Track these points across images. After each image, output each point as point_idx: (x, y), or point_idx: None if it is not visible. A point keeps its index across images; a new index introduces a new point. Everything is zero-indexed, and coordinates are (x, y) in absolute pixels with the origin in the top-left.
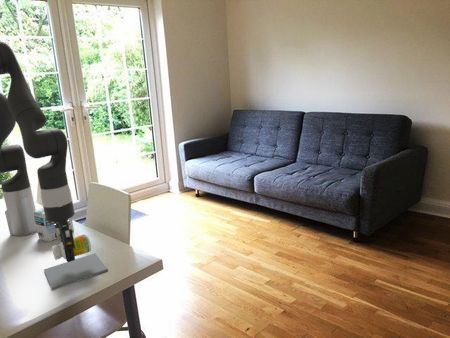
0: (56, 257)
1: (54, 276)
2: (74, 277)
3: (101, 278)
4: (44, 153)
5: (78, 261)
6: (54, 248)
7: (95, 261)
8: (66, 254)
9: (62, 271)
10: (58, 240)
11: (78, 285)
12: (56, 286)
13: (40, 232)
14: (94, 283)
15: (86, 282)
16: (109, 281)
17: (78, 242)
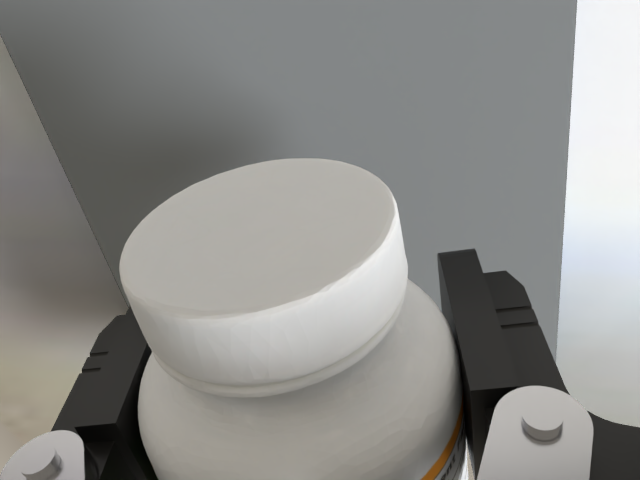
0: (151, 226)
1: (266, 25)
2: (141, 216)
3: (80, 369)
4: None
5: (482, 268)
6: (162, 328)
7: None
8: (105, 374)
9: (347, 115)
10: (536, 417)
11: (20, 223)
12: (6, 44)
13: None
14: (16, 325)
15: (53, 280)
16: (15, 401)
17: None
